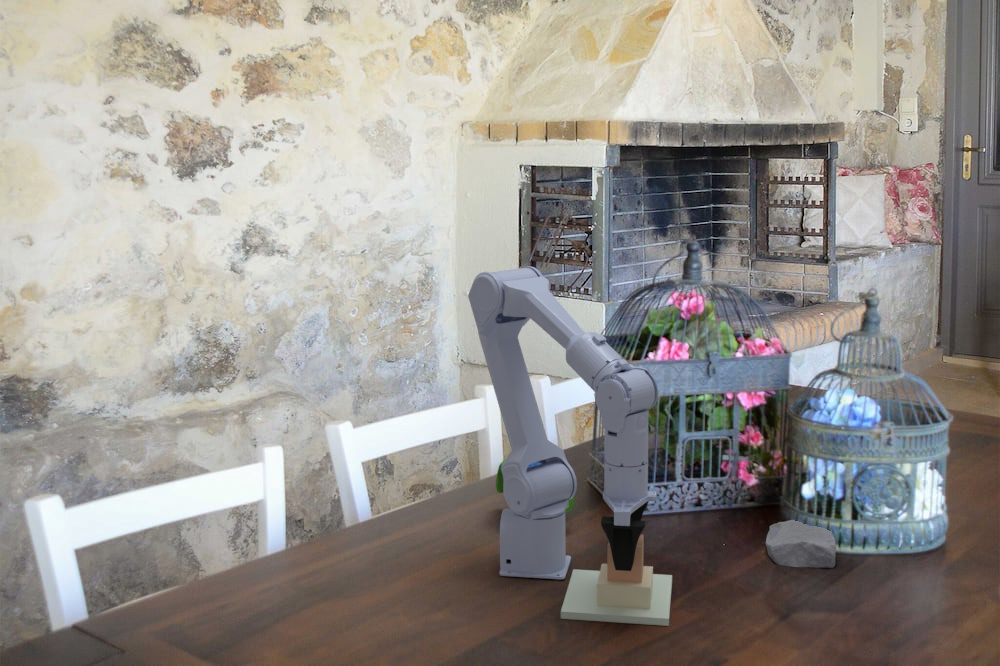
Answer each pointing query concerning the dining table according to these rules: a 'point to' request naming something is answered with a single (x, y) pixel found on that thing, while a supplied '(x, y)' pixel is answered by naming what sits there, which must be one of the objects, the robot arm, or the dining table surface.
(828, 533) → the stone block
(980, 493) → the dining table surface
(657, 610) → the base plate
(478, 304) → the robot arm
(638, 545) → the top brick
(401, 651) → the dining table surface
